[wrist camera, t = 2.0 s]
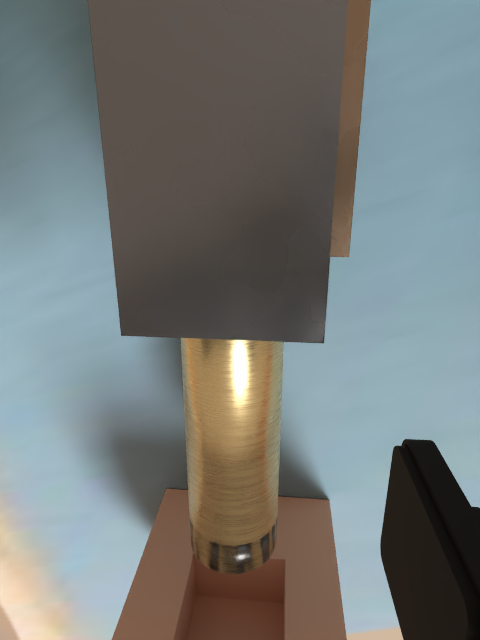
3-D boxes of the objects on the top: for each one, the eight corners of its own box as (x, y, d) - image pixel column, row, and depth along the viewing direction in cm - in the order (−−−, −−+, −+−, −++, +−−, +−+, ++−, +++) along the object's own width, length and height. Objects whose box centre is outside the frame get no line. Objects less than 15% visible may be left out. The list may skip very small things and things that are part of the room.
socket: (166, 488, 22) (102, 664, 15) (329, 500, 21) (353, 690, 14) (170, 549, 24) (114, 739, 16) (323, 562, 23) (342, 767, 15)
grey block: (146, -1, 15) (11, -151, 8) (357, -8, 14) (431, -180, 7) (162, 261, 18) (76, 334, 11) (336, 265, 18) (372, 345, 10)
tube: (179, 15, 12) (145, -30, 9) (295, 11, 11) (298, -36, 9) (199, 502, 17) (182, 569, 14) (277, 508, 17) (275, 577, 14)
